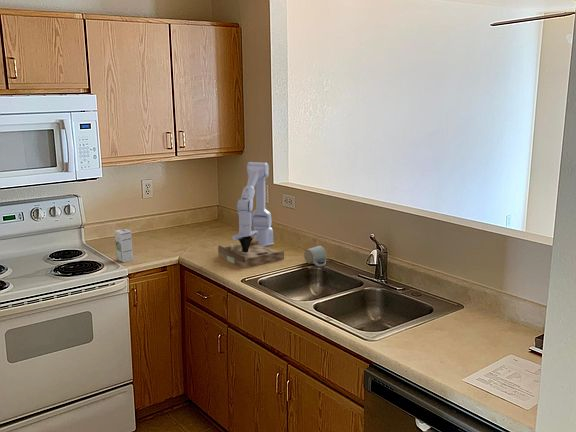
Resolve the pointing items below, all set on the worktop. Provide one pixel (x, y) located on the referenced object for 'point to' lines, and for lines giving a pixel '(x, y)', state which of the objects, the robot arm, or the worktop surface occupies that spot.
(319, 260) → the ceramic mug
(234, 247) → the maple block
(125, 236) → the syrup box
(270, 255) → the trap box
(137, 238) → the worktop surface
